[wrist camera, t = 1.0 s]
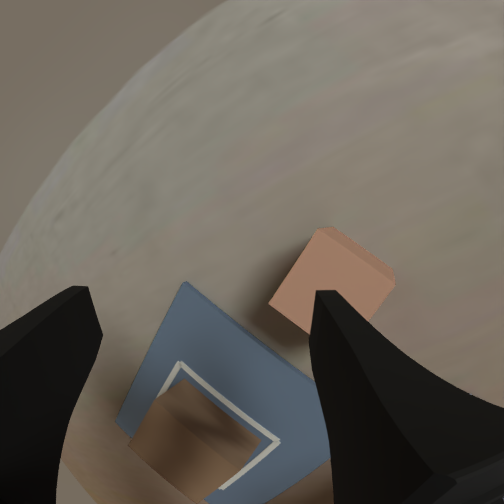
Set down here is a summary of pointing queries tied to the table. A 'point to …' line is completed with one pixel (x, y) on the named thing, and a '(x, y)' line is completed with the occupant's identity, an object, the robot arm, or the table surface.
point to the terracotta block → (333, 278)
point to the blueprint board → (235, 395)
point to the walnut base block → (192, 441)
